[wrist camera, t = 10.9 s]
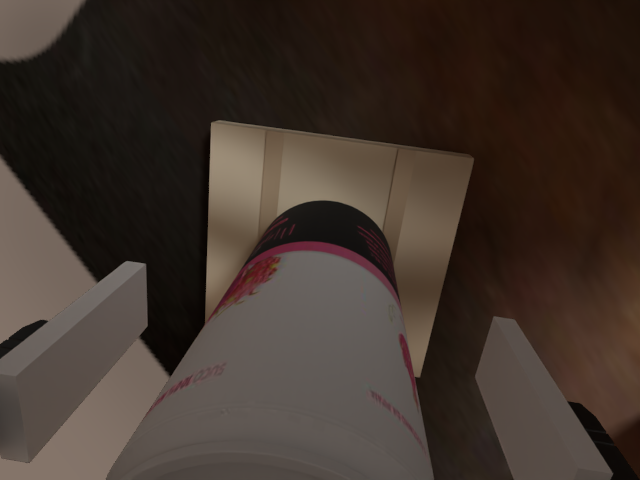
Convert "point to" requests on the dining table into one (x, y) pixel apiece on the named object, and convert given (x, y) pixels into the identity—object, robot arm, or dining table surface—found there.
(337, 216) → the beverage can
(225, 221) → the trivet
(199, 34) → the dining table surface
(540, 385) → the robot arm
